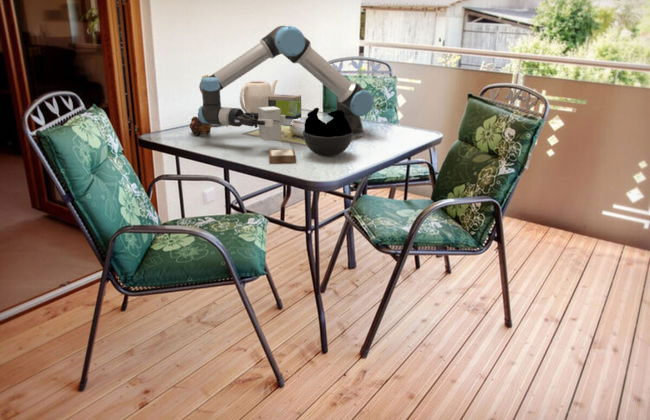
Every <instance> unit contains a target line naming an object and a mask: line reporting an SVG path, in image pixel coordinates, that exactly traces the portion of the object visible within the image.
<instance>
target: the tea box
mask: <svg viewBox="0 0 650 420" xmlns="http://www.w3.org/2000/svg"><path fill="white" fill-rule="evenodd" d="M273 106H274V107H277V108H280V109H281V115H285V122H281V126H291V125H290V124H291V122H292V120H293V119H298V118H301V119H302V95H301V94H300V95H299V94H284V93H282V94H280V93H278V94H277V93H274V95H271V96H268V107H273Z"/></svg>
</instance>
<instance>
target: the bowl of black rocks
mask: <svg viewBox="0 0 650 420" xmlns="http://www.w3.org/2000/svg"><path fill="white" fill-rule="evenodd" d="M319 111H320V108H319V107H315V108H313V109H312V110H310V111H309V112H307V114H306V116H307V117H306V119H305V121H304V130H302V136H303V140H304V143H305V145H306V146H307V148H308V149H309V151H311V152H312V153H314V154H316V155H317V156H320V157H325V158H332V157H335V156H338V155H340V154H342V153H343V152H344V151H346V149H348V148H349V146H350V145H351V142H352V140H353V136H354V133H353V132H352V130H351V127H350V126H349V123H348V121H347V119H346V118H345V114H344V112H343V111H342V110H336V109H335V110H332V111H330V112H328V113H326V115H327V116H329V117H331V118H332V119H330V120H329V121H327V122H325V121H323V120H321V119H320V118H319V116H318V114H319V113H318V112H319Z"/></svg>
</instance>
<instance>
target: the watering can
mask: <svg viewBox="0 0 650 420" xmlns="http://www.w3.org/2000/svg"><path fill="white" fill-rule="evenodd" d="M277 83H278V80H277V79H275V80H274V81H273V82H272V84H270V83H269V82H268V81H266V80H250V81H246V82H245V84H244V85H243V86H242V87H241V88H240V93H239V104H240V107H241V109H242V111H243V112H244V113H251V112H253V113H258V108H259V107H268V96H271V95H274V94H275V89H276V86H277Z"/></svg>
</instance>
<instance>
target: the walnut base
mask: <svg viewBox="0 0 650 420" xmlns="http://www.w3.org/2000/svg"><path fill="white" fill-rule="evenodd" d="M268 156H269V157H268V159H269V161H268V162H269V165H281V164H282V165H285V164H297V161H296V160H297V158H296V152H295V149H294V148H293V149H288V148H287V149H268Z"/></svg>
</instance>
